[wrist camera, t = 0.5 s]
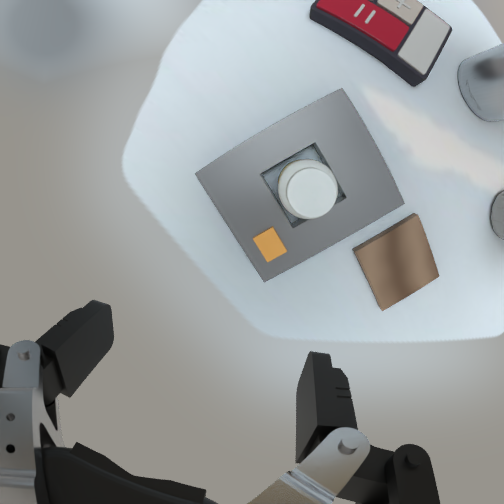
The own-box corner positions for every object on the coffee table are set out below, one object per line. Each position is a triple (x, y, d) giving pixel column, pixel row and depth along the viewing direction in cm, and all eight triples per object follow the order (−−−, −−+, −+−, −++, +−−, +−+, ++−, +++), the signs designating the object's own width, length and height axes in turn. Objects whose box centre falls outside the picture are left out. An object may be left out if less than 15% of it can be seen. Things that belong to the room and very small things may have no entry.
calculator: (350, -41, 19) (456, 26, 19) (346, -24, 23) (442, 37, 23) (309, 4, 22) (428, 79, 22) (307, 21, 26) (413, 88, 27)
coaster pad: (413, 213, 31) (418, 214, 30) (435, 273, 33) (439, 276, 32) (352, 249, 33) (355, 252, 32) (379, 306, 35) (382, 311, 34)
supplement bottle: (278, 159, 31) (278, 157, 22) (326, 160, 30) (346, 160, 21) (277, 207, 32) (277, 225, 23) (325, 208, 32) (343, 227, 23)
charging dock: (337, 93, 28) (343, 86, 25) (396, 200, 31) (406, 204, 28) (200, 172, 32) (193, 173, 29) (265, 274, 35) (263, 284, 32)
